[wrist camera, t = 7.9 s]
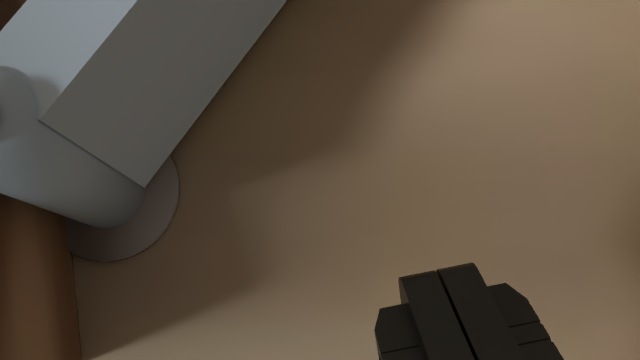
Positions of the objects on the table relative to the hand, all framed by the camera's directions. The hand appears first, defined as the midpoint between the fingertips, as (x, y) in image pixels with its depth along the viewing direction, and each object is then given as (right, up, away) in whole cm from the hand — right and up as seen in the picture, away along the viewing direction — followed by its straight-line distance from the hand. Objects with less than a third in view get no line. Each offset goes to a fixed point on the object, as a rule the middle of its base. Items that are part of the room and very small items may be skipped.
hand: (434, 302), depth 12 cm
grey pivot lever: (-6, +7, +9) cm, 13 cm away
